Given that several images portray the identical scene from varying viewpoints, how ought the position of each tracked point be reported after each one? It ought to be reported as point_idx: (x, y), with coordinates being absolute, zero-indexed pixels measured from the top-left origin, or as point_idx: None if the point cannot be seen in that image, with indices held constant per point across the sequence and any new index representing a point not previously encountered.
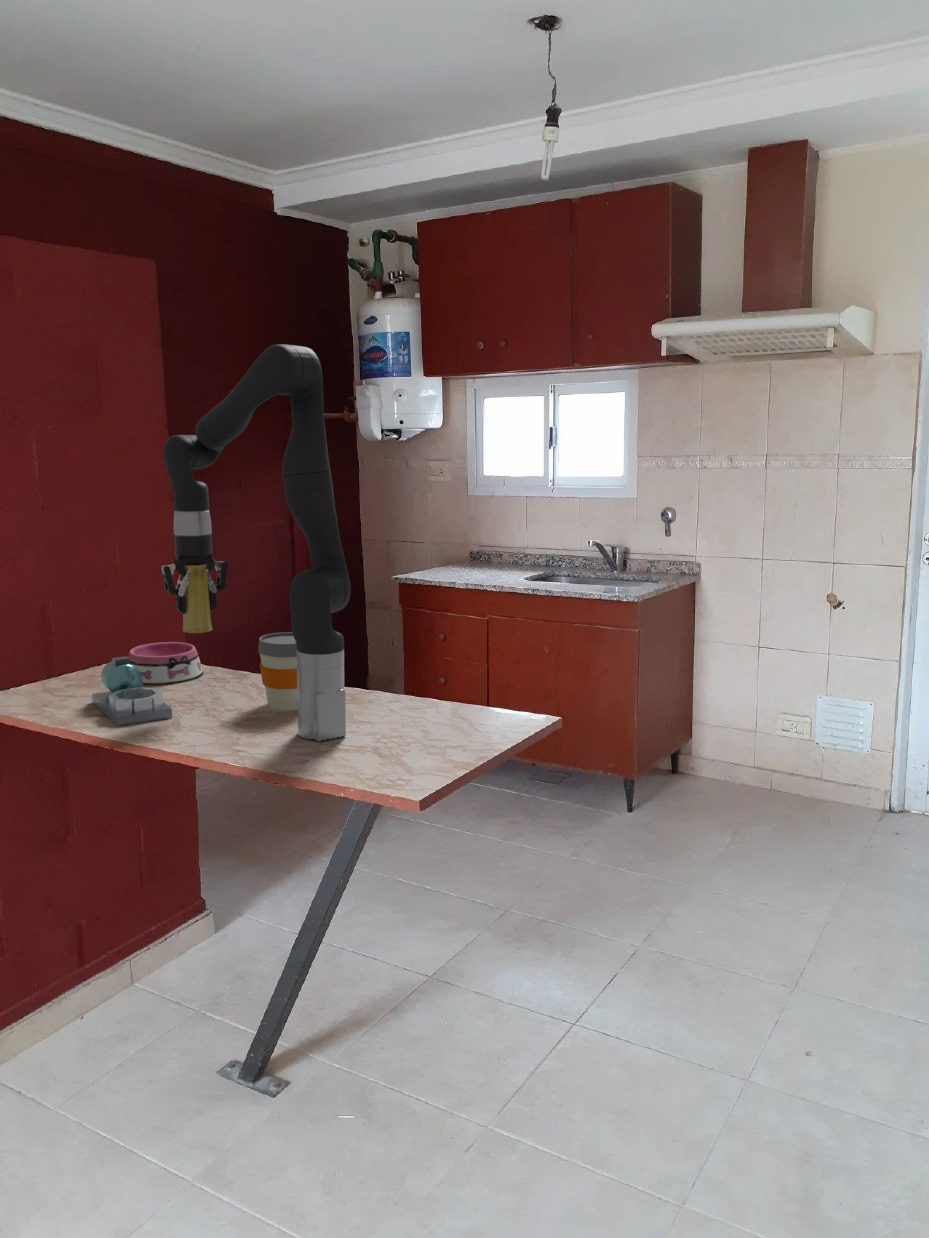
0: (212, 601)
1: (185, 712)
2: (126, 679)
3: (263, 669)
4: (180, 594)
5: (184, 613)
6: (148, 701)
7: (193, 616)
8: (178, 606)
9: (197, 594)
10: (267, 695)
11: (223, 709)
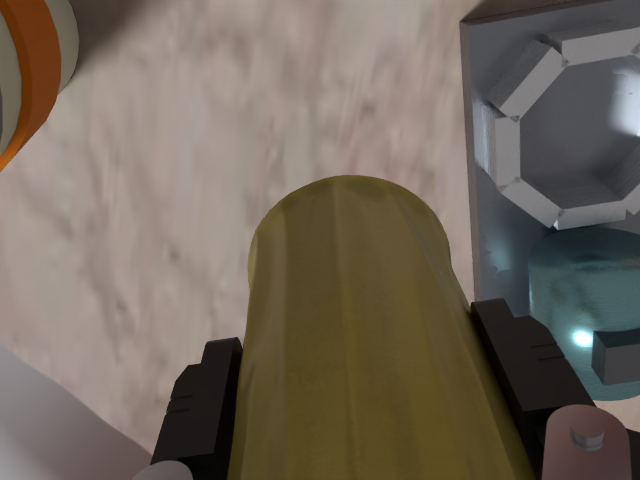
0: (207, 394)
1: (396, 75)
2: (603, 263)
3: (16, 10)
4: (596, 416)
5: (479, 301)
6: (572, 36)
7: (408, 248)
8: (553, 346)
9: (388, 390)
10: (61, 24)
11: (255, 61)
